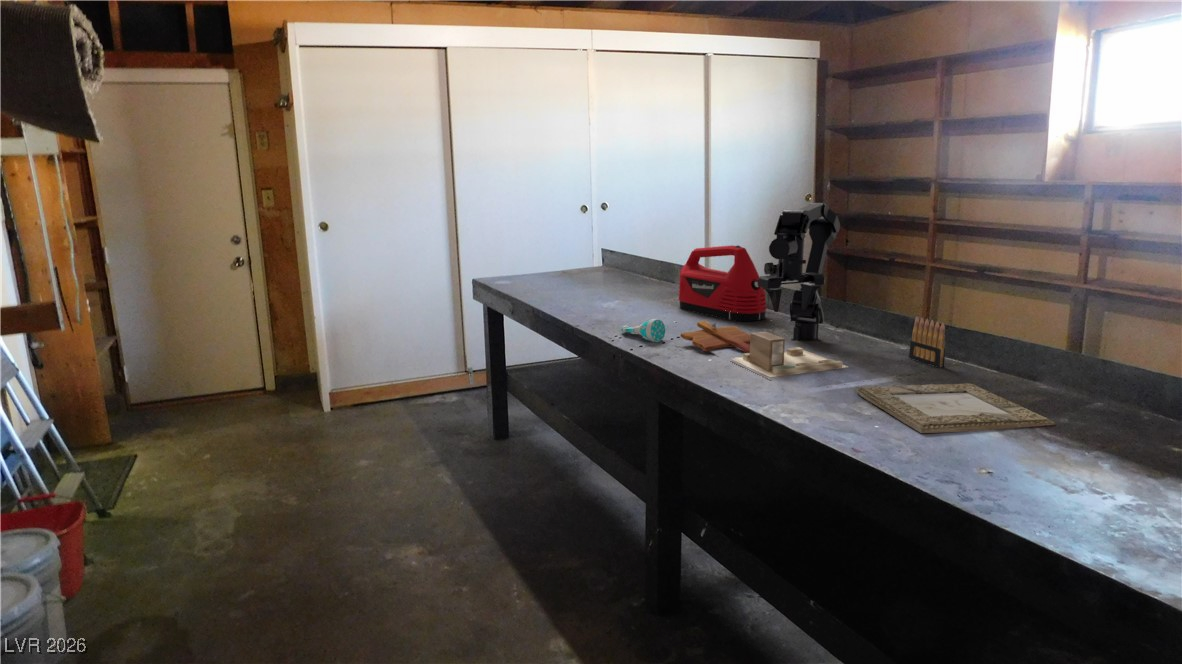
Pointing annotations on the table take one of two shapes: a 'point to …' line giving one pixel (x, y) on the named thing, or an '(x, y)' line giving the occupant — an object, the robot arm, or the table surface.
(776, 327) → the table surface
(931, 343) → the ammunition clip
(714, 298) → the power tool
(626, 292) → the table surface
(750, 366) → the birch notch board
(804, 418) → the table surface
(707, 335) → the sign
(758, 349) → the brown wooden box
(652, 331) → the garden hose nozzle
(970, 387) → the picture frame
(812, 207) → the robot arm
